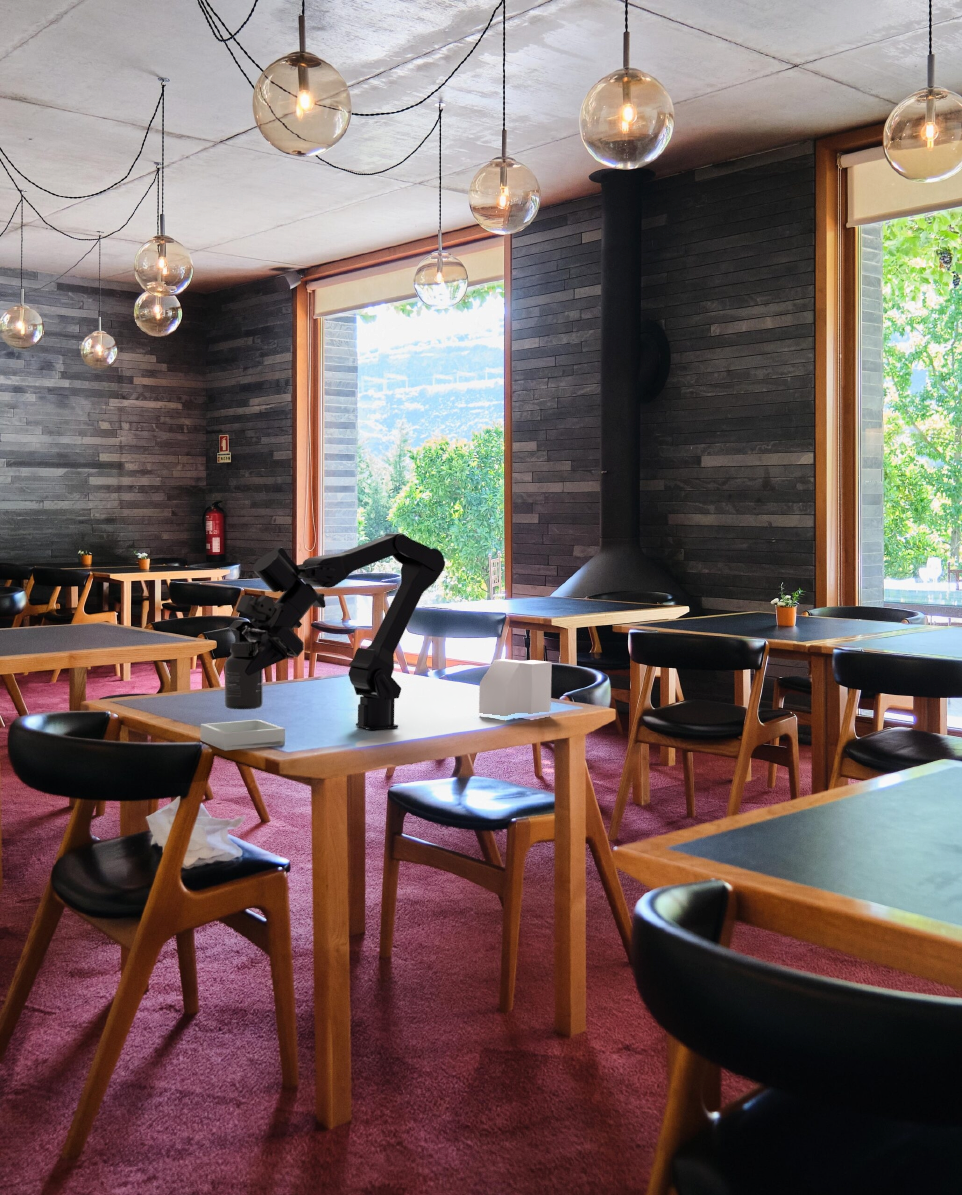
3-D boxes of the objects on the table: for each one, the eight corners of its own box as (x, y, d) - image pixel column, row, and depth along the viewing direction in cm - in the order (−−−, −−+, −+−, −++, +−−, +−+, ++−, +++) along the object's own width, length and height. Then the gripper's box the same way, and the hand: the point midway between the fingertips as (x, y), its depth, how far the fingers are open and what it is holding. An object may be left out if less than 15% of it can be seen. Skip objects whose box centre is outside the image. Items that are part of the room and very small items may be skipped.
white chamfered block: (550, 717, 246) (551, 662, 246) (517, 722, 238) (518, 665, 237) (512, 711, 253) (513, 657, 253) (479, 716, 245) (480, 661, 244)
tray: (258, 735, 217) (259, 719, 217) (284, 744, 207) (285, 728, 207) (200, 740, 210) (200, 724, 210) (224, 750, 201) (224, 733, 201)
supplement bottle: (268, 708, 207) (268, 643, 207) (231, 711, 204) (231, 644, 203) (255, 703, 213) (255, 639, 212) (219, 705, 210) (219, 641, 209)
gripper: (237, 577, 217) (184, 638, 210) (289, 581, 203) (234, 647, 196) (274, 617, 222) (223, 677, 216) (326, 623, 208) (274, 688, 202)
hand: (237, 671), depth 207 cm, fingers closed on supplement bottle, 7 cm apart
